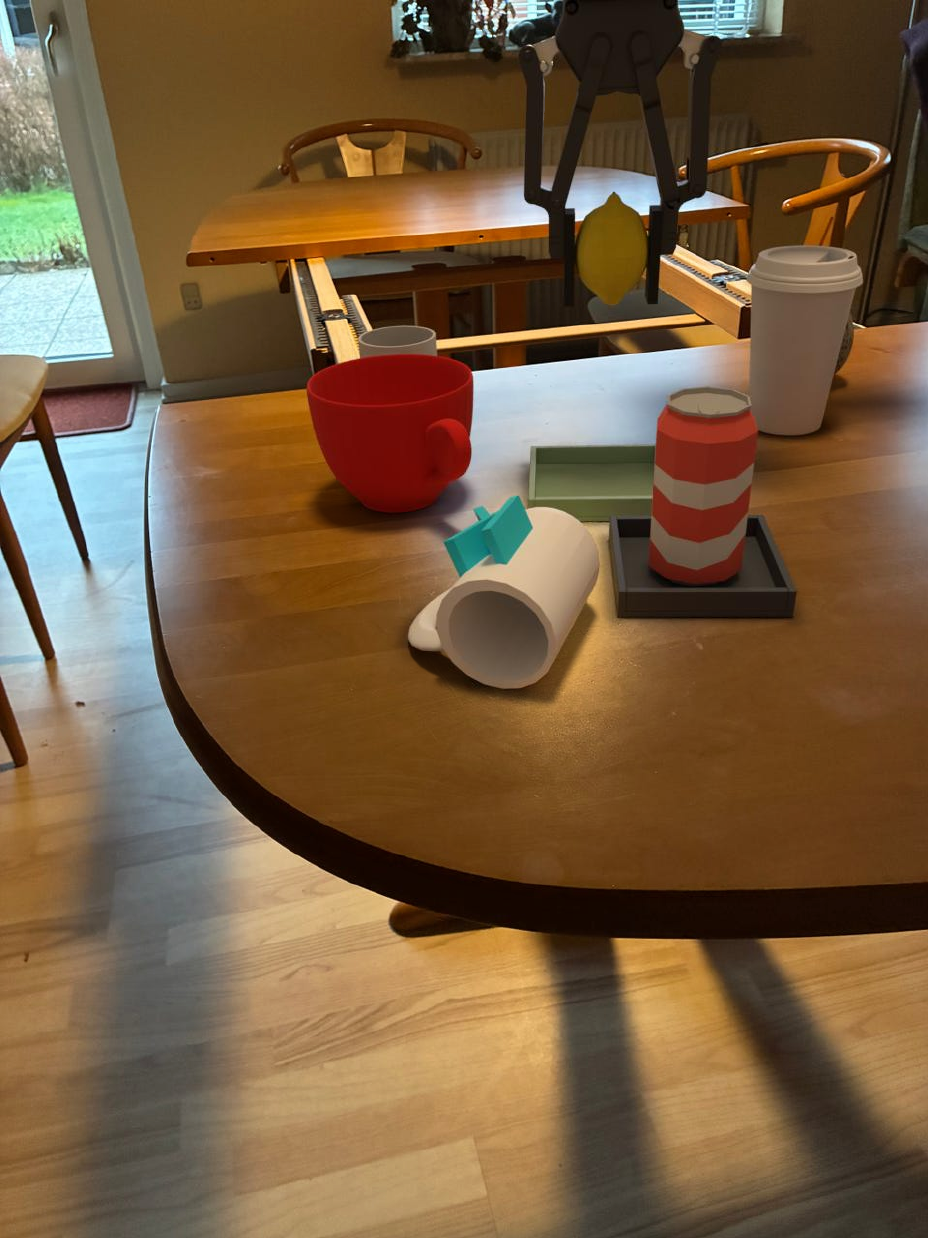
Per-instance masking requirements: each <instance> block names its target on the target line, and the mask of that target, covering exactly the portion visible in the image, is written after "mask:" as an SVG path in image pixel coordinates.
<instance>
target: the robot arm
mask: <svg viewBox="0 0 928 1238" xmlns="http://www.w3.org/2000/svg"><path fill="white" fill-rule="evenodd" d="M554 34H555V35H553V36H551V37H547V38H546V39H544V40H541V41H539V42H536V43H535V44H526V45H523V47H521V48H520V50H519V52H518V61H519V64H520V67H521V71H522V74H523V78H524V81H525V84H526V100H525V101H526V102H525V137H524V168H523V170H524V174H523V199H524V202H526V204H528V205H533V206H536V207H540V208H542V209H544V210H545V211H546V213H547V216H548V253H549V256H550V259H551V260H553V259H554V260H555V259H563V307H564V308H565V307H575V242H576V208H575V207H571V208H570V207H566V206H567V202H568V198H569V195H570V191H571V187H572V183H573V180H574V176H575V173H576V170H577V166H578V162H579V159H580V156H581V155H580V154H581V152H582V148H583V145H584V140H585V136H586V133H587V130H588V126H589V122H590V119H591V116H592V112H593V110H594V105H595V101H596V98H597V97H598V96H608V95H611V94H613V93H616V92H618V93H619V92H620V93H623V94H628V95H637V99H638V103H639V108H640V111H641V116H642V120H643V125H644V129H645V134H646V138H647V144H648V148H649V152H650V157H651V162H652V167H653V172H654V176H655V181H656V185H657V189H658V195H659V198H660V201H659V204H650V205H649V209H648V210H649V211H648V227H647V234H648V239H649V259H648V263H647V266H646V269H645V285H644V286H645V287H644V297H645V302H646V304H647V305H658V304H659V291H660V290H659V289H660V275H661V274H660V271H661V258H662V257H661V256H672V255H673V256H674V254H675V251H676V249H677V239H678V227H679V226H678V225H679V213H680V209H681V208H682V206H683V205H684V204H686V203H688V202H690V201H693V200H695V199H700V198H702V197H704V196H705V195H706V193H707V189H708V167H709V143H710V142H709V141H710V120H711V119H710V117H711V99H712V97H711V96H712V76H713V74H714V71H715V68H716V65H717V63H718V60H719V57H720V54H721V51H722V48H723V41H722V40H721V38H720V37H719V36H718V35H710V34H709V35H705V34H702V33H699V32H695V31H693V30H690V29H687V28H685V24H684V21H683V18H682V16H681V14H680V9H679V0H562V13H561V18H560V22H559V24H558V26H557V28H556V30H555V33H554ZM678 47H679V48H681V49H682V51H683V59H682V60H683V65H684V66H685V68H687V69H689V70H690V71H689V77H688V88H687V90H688V91H687V120H686V124H687V125H686V126H687V127H686V154H685V156H686V157H685V179H684V180H681V181H680V182H678V181H677V176H676V171H675V166H674V161H673V156H672V151H671V147H670V141H669V138H668V137H669V136H668V132H667V127H666V122H665V117H664V113H663V108H662V107H663V106H662V103H661V95H660V90H659V85H658V80H657V79H658V77H659V75H660V74H661V73H662V71H663V70H664V68H665V66H666V65H667V63H668V62H669V60H670V59H671V57H672V56H673V55H674V53H675V52H676V51H677V49H678ZM558 53H560V54H561V56H562V57H563V59H564V61H565V62H566V64H567V65H568V68H570V70H571V72H572V73H573V75H574V77H575V78H576V79H577V81H578V83H579V84H578V88H577V91H576V94H575V95H576V96H575V99H574V104H573V107H572V111H571V114H570V117H569V118H570V119H569V122H568V125H567V130H566V133H565V137H564V141H563V145H562V148H561V151H560V155H559V158H558V159H559V160H558V163H557V167H556V170H555V175H554V178H553V182H552V186H551V187H547V186H544V185H542V174H543V173H542V171H543V150H544V149H543V148H544V147H543V145H544V120H545V119H544V118H545V114H544V113H545V94H546V93H545V79H544V78H546V77H548V76H549V75H550V74H551V73H552V70H553V60H554V57H555V56H556V55H557V54H558Z"/></svg>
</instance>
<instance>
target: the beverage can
mask: <svg viewBox="0 0 928 1238" xmlns="http://www.w3.org/2000/svg"><path fill="white" fill-rule="evenodd" d="M750 409H751V401H750V396H749V394H745V393H743V392H740V391H738V390H735V389H733V388H724V387H717V386H698V387H688V388H687V387H686V388H681V389H678V390H677V391H674V392H672V393H670V394H667V403H666V405H665V407H664V408H663V410H662V411H661V413H660V414H659V415H658V417H657V420H656V436H655V444H656V450H655V466H654V482H653V499H652V515H651V531H650V547H649V567H651V568H652V569H654V570H655V571H657V572H658V573H659V574H661V575H662V576H664V577H665V578H667V579H669V580H670V581H672V582H673V583H678V584H683V585H688V586H693V587H696V586H705V585H714V584H717V583H718V582H720V581H725V580H727V579H728V578H730V577H731V576H733V575H734V574H736V573H737V572H739V571H740V570H741V568H742V560H743V551H744V543H745V535H746V527H747V518H748V515H749V509H750V501H751V492H752V485H753V477H754V469H755V468H754V467H755V460H756V453H757V444H758V443H757V442H758V435H759V430H758V429H757V425H756V420H755V418H754V416H753V414H752V412H751V410H750Z"/></svg>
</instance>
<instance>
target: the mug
mask: <svg viewBox="0 0 928 1238" xmlns="http://www.w3.org/2000/svg"><path fill="white" fill-rule="evenodd" d="M472 510H473V512H474V514H475V516H476V518H477V522H474V523H473V524H471V525H469V526H468V527H466V528H464V529H463V530H461V531H459V532H458V533H456V534H454V535H452V536H451V537H449V538H448V539H445V540H444V541H442V543H443V545H444V548H445V549H446V551H447V553H448V555H449V557H450V559H451V562H452V563H453V566H454V568H455V571H456V572H457V574H458V578H457V580H456V581H455V582H454V584H453V585H452V586H451V587H450V588H449V589H447V590H445V591H443V592H442V593H441V594H439V595H438V596H437V597H435V598H434V599H433V600H431V601H430V602H428V603H427V605H426V606H425V607H424V608H423V609H422V610H421V611H420V612H419V613H418V614H417V615H416V616H415V617H414V619H413V621H412V622H411V625H410V626H409V628H408V635H407V640H408V642H409V644H410V646H412V647H414V648H416V649H418V650H419V651H422V652H423V651H424V652H425V651H426V652H442V651H444V653H446V655H447V657H448V658H449V659H450V661H451V662H452V663H453V664H454V665H455V667H457V668H458V669H459V670H460V671H462V672H463V673H464V674H465V675H466V676H467V677H470V678H471V679H473V680H475V681H477V682H479V683H481V684H483V685H485V686H490V687H493V688H498V689H505V690H506V689H522V688H524V687H528V686H530V685H533V684H536V683H537V682H538V681H539V680H540V679H541V678H543V677H544V676H545V675H547V673H549V671H550V669H551V667H552V665H553V664H554V662H555V660H556V659H557V656H558V654H559V652H560V651H561V649H562V647H563V645H564V644H565V642H566V640H567V638H568V637H569V634H570V633H571V630H572V628H573V627H574V625H575V623H576V622H577V619H578V618H579V616H580V614H581V612H582V610H583V608H584V607H585V605H586V603H587V601H588V599H589V597H590V595H591V593H592V592H593V590H594V588H595V586H596V584H597V582H598V578H599V575H600V566H601V564H600V555H599V549H598V547H597V543H596V541H595V539H594V537H593V535H592V534H591V532H590V530H589V529H588V528H587V527H586V526H585V525H584V524H583V523H582V521H579V520H577V519H576V518H574V517H573V516H572V515H570V514H568V513H566V512H564V511H561V510H557V509H554V508H548V507H534V508H529V509H528V508H525V506H524V504H523V501H522V499H521V497H520V495H519V494H516V495H513V496H510V497H508V499H507V500H506V501H505V503H504V504H503V505H502V506H501V507H500V508H499V510H497V511H495V512H493V513H489V512H488V510H487V509H486V508H485V507H484V506H483V505H480V506H478V507H474V508H472Z"/></svg>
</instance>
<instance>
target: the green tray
mask: <svg viewBox="0 0 928 1238" xmlns="http://www.w3.org/2000/svg"><path fill="white" fill-rule="evenodd" d="M655 450H656V443H648V444H647V443H645V444H643V443H642V444H641V443H639V444H637V443H636V444H581V445H579V444H578V445H577V444H576V445H571V444H570V445H531V446H530V451H529V452H530V453H529V474H528V497H527V509H529V508H534V507H548V508H554V509H557V510H561V511H564V512H566V513H568V514H570V515H572V516H573V517H574V518H576V519H577V520H579V521H580V522H609V519H610V516H616V517H617V516H651V515H652V499H653V482H654V466H655Z"/></svg>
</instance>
